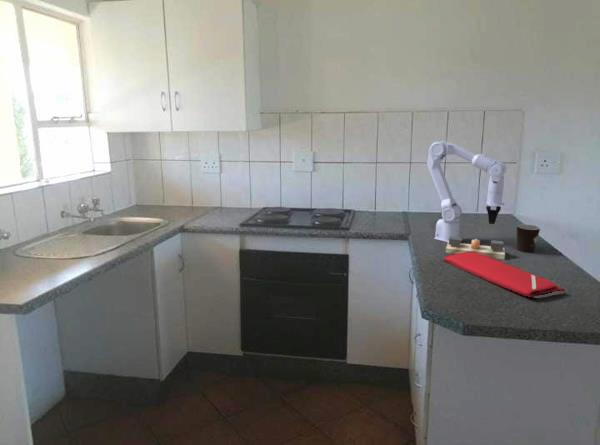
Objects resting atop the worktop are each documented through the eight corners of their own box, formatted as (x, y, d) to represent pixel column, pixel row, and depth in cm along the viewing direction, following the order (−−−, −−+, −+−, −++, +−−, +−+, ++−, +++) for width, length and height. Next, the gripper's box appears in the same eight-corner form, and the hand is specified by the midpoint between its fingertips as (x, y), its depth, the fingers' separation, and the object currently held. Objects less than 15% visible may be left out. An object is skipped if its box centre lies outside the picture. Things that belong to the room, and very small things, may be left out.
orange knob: (470, 248, 189) (471, 240, 188) (471, 246, 192) (471, 238, 191) (479, 249, 188) (480, 241, 187) (479, 247, 190) (480, 239, 190)
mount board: (445, 252, 189) (446, 246, 189) (447, 246, 199) (448, 240, 198) (504, 259, 182) (505, 253, 181) (503, 252, 191) (504, 246, 190)
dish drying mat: (475, 257, 185) (476, 248, 184) (565, 295, 148) (567, 284, 147) (442, 262, 180) (443, 252, 179) (527, 302, 143) (528, 291, 142)
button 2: (490, 248, 185) (491, 243, 185) (490, 245, 189) (491, 240, 189) (502, 250, 184) (503, 244, 183) (502, 247, 188) (503, 241, 187)
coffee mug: (524, 254, 188) (527, 230, 186) (509, 248, 197) (512, 225, 194) (548, 252, 192) (551, 228, 189) (532, 246, 200) (535, 223, 197)
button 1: (448, 244, 191) (449, 238, 190) (449, 241, 195) (450, 236, 194) (460, 245, 189) (460, 239, 189) (460, 242, 193) (461, 237, 193)
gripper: (505, 195, 185) (502, 228, 189) (505, 189, 198) (502, 220, 202) (486, 194, 188) (483, 226, 191) (487, 188, 201) (484, 219, 204)
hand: (491, 223), depth 197 cm, fingers closed
